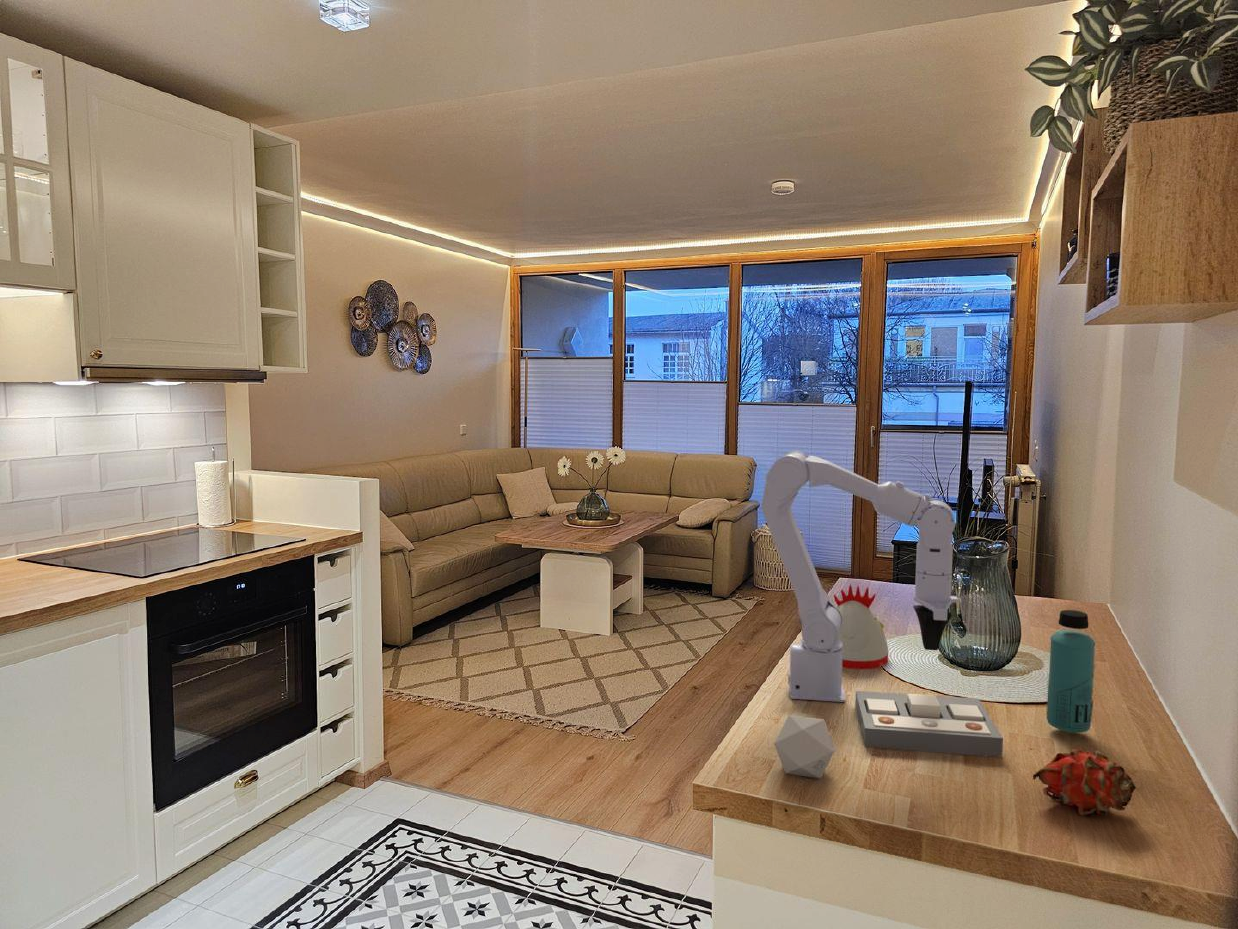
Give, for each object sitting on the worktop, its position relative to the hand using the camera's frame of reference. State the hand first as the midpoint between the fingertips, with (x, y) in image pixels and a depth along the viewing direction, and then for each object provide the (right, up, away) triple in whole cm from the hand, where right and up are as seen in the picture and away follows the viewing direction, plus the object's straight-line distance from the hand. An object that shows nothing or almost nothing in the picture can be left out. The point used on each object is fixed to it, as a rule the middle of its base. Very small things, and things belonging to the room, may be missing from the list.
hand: (930, 648), depth 140 cm
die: (-27, -13, -21) cm, 36 cm away
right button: (+2, -10, -9) cm, 13 cm away
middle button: (-4, -9, -7) cm, 12 cm away
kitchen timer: (-6, -8, +26) cm, 28 cm away
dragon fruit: (+8, -14, -32) cm, 36 cm away
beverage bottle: (+18, -12, -9) cm, 24 cm away
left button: (-10, -10, -6) cm, 16 cm away
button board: (-4, -11, -8) cm, 15 cm away
